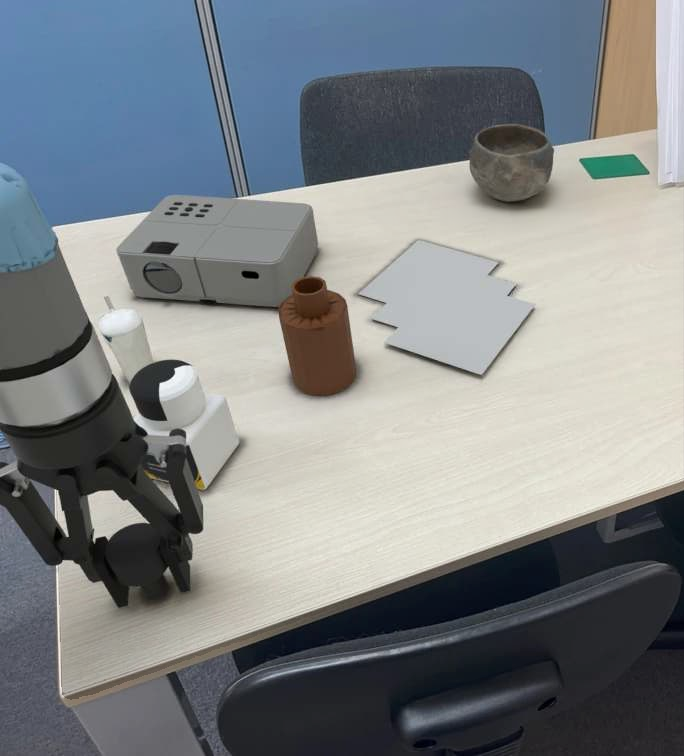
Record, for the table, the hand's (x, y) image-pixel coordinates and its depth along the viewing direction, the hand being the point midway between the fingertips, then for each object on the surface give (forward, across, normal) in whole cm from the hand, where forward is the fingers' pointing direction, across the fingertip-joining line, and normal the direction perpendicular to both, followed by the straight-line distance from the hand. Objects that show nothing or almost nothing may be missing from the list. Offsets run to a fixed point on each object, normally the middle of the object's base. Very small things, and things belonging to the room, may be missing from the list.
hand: (155, 586), depth 63 cm
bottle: (+1, -18, -26) cm, 31 cm away
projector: (+1, -8, -52) cm, 52 cm away
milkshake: (+1, +3, -32) cm, 32 cm away
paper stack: (+1, -36, -36) cm, 51 cm away
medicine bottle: (+1, -3, -16) cm, 16 cm away
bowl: (+1, -55, -66) cm, 86 cm away
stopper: (+1, 0, 0) cm, 1 cm away
